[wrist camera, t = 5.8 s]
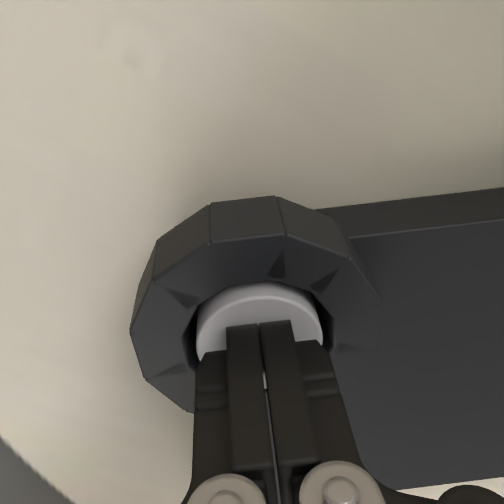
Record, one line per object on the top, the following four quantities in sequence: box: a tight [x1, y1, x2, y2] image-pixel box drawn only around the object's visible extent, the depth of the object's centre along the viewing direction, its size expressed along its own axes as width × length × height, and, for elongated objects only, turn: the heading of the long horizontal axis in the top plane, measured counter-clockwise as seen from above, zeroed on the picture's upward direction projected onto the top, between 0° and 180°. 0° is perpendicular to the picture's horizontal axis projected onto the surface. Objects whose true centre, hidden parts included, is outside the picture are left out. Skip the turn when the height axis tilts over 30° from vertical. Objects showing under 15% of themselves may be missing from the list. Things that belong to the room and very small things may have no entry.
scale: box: [130, 188, 504, 504], centre depth 15 cm, size 15×13×4 cm
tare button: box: [196, 280, 323, 389], centre depth 12 cm, size 3×3×2 cm
